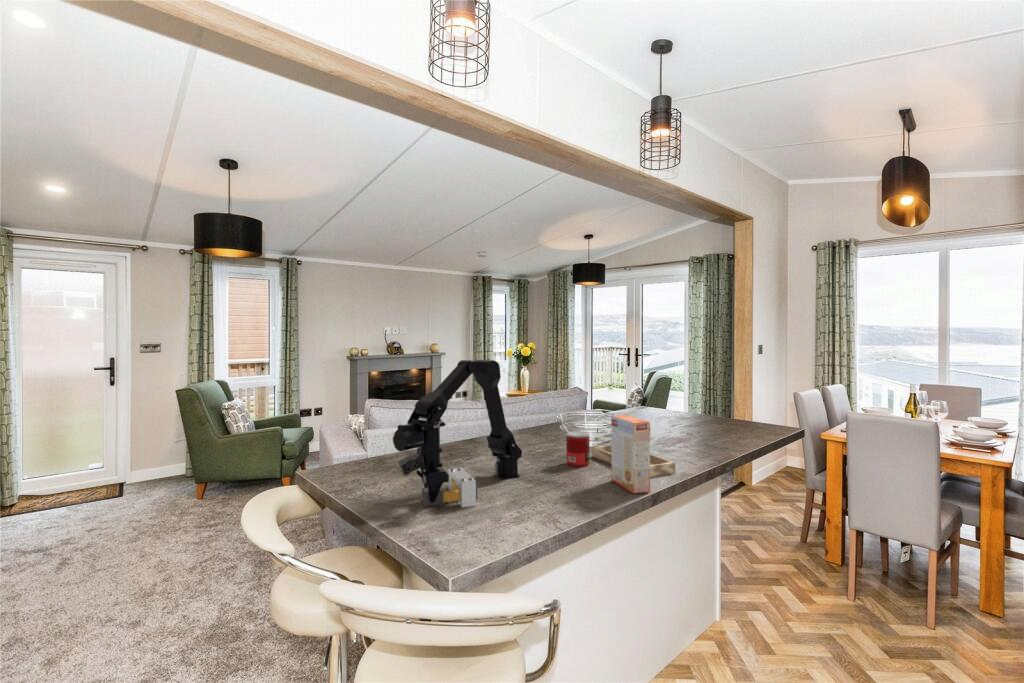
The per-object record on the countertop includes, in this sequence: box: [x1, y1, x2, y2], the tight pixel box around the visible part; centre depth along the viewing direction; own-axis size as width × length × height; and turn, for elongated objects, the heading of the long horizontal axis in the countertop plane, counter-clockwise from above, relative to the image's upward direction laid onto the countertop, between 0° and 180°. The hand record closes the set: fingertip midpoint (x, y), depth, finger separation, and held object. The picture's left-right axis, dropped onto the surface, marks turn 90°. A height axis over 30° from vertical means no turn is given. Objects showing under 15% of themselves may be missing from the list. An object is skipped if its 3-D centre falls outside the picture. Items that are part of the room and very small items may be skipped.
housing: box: [447, 467, 477, 509], centre depth 139 cm, size 4×14×7 cm, turn 22°
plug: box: [421, 485, 478, 507], centre depth 137 cm, size 15×4×4 cm, turn 113°
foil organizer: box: [592, 444, 676, 478], centre depth 172 cm, size 13×30×4 cm, turn 22°
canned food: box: [566, 430, 590, 468], centre depth 173 cm, size 8×8×11 cm
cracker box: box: [610, 414, 651, 495], centre depth 147 cm, size 14×6×21 cm, turn 15°
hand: (430, 499), depth 135 cm, fingers closed on plug, 4 cm apart
